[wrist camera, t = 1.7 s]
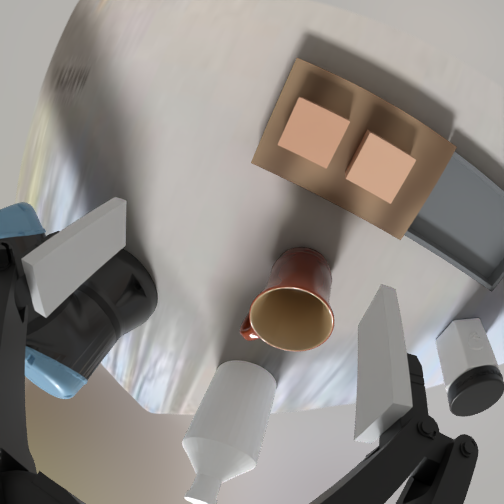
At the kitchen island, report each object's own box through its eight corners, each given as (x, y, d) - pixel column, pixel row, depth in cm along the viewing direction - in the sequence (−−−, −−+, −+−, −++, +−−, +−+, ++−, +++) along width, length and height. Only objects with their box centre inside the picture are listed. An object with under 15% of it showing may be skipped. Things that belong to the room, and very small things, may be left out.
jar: (491, 314, 35) (516, 374, 25) (477, 353, 39) (494, 411, 29) (439, 319, 38) (457, 384, 28) (429, 358, 42) (440, 420, 31)
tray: (400, 226, 34) (403, 234, 32) (447, 147, 28) (454, 151, 26) (486, 282, 33) (491, 291, 32) (531, 218, 28) (538, 225, 26)
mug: (311, 225, 37) (301, 271, 28) (350, 278, 39) (350, 333, 30) (237, 270, 42) (211, 319, 34) (277, 315, 45) (260, 368, 36)
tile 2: (281, 141, 30) (277, 144, 28) (301, 96, 27) (299, 97, 25) (327, 163, 30) (326, 168, 28) (349, 119, 27) (350, 121, 25)
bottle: (206, 379, 57) (153, 489, 36) (230, 349, 51) (171, 481, 29) (258, 406, 57) (221, 517, 36) (290, 380, 51) (255, 514, 30)
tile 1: (344, 172, 30) (345, 178, 28) (367, 129, 27) (370, 132, 25) (387, 195, 30) (390, 204, 28) (410, 154, 27) (416, 159, 25)
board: (257, 157, 34) (250, 162, 32) (300, 60, 28) (296, 57, 25) (396, 228, 34) (400, 240, 31) (447, 142, 28) (456, 147, 25)
